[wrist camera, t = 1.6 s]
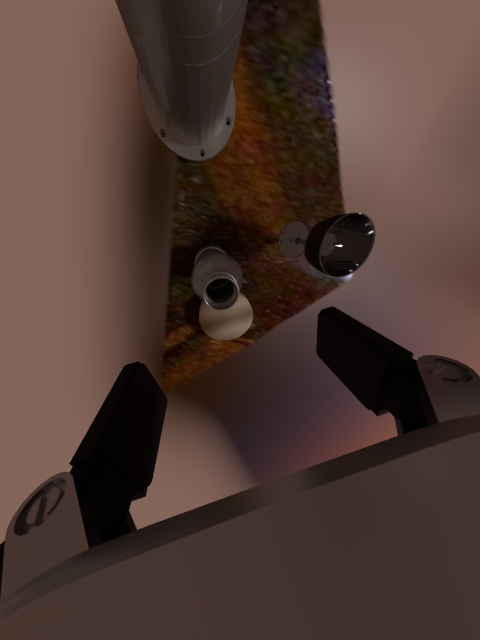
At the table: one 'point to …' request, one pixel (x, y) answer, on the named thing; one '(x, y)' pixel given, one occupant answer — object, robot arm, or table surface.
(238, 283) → the plastic bottle
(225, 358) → the table surface
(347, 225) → the wine glass
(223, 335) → the pedestal
